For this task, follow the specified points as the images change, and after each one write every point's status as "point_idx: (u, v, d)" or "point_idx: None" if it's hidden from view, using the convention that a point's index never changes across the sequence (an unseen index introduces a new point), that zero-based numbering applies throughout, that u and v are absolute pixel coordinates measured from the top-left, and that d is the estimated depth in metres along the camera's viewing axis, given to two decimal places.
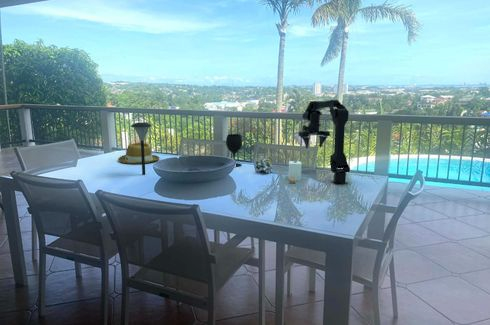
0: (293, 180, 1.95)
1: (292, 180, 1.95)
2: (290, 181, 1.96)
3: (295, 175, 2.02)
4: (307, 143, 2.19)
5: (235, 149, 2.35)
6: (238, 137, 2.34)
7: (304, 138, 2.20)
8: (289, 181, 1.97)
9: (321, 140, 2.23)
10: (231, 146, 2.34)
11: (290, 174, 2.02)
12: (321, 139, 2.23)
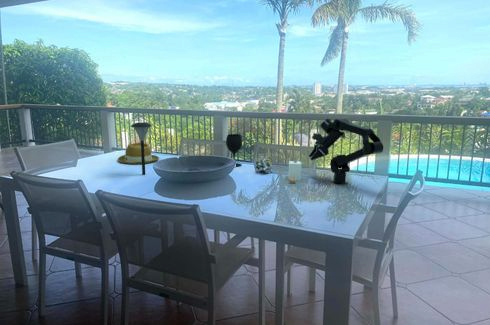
0: (293, 180, 1.95)
1: (292, 180, 1.95)
2: (290, 181, 1.96)
3: (295, 175, 2.02)
4: None
5: (235, 149, 2.35)
6: (238, 137, 2.34)
7: (318, 151, 1.95)
8: (289, 181, 1.97)
9: (316, 152, 2.06)
10: (231, 146, 2.34)
11: (290, 174, 2.02)
12: None
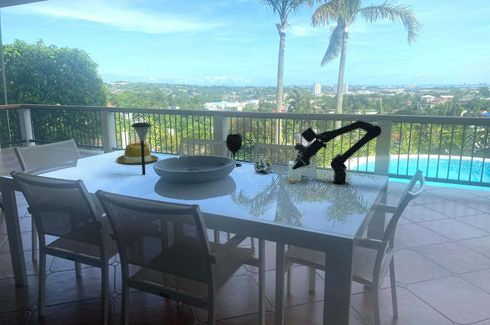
0: (293, 180, 1.95)
1: (292, 180, 1.95)
2: (290, 181, 1.96)
3: (295, 175, 2.02)
4: (299, 167, 2.00)
5: (235, 149, 2.35)
6: (238, 137, 2.34)
7: (299, 161, 1.98)
8: (289, 181, 1.97)
9: None
10: (231, 146, 2.34)
11: (290, 174, 2.02)
12: None
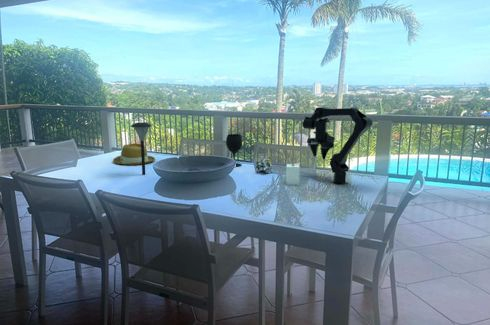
0: None
1: None
2: None
3: (293, 179, 1.94)
4: None
5: (235, 149, 2.35)
6: (238, 137, 2.34)
7: None
8: None
9: None
10: (231, 146, 2.34)
11: (288, 178, 1.94)
12: None
